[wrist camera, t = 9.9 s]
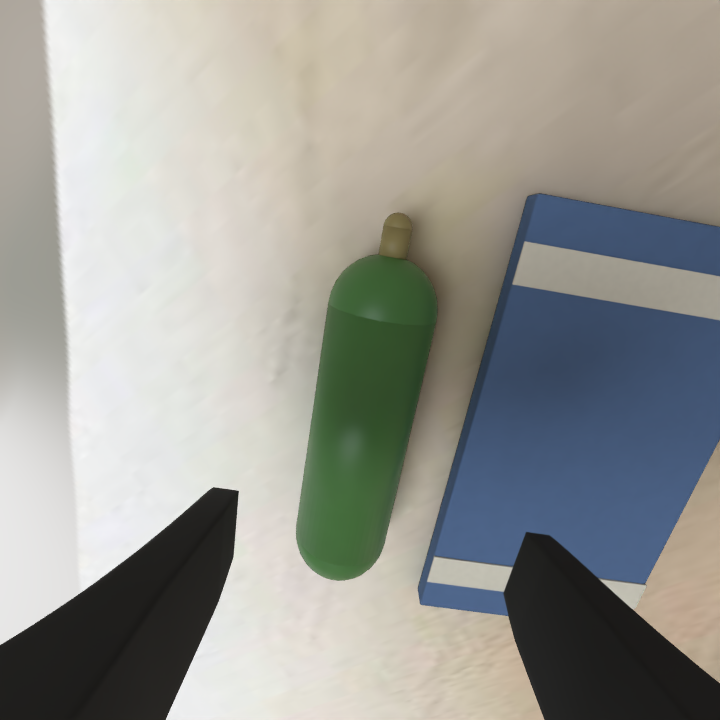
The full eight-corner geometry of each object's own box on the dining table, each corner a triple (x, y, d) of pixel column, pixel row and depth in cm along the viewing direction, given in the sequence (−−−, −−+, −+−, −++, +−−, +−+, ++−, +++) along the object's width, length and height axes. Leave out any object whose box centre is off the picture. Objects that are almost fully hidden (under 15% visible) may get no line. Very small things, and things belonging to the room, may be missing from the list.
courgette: (371, 533, 20) (383, 605, 16) (294, 529, 19) (287, 602, 16) (439, 224, 15) (478, 222, 11) (339, 205, 15) (346, 197, 11)
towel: (792, 244, 15) (824, 245, 14) (609, 613, 21) (622, 632, 20) (526, 195, 15) (539, 192, 14) (417, 588, 21) (419, 607, 20)
